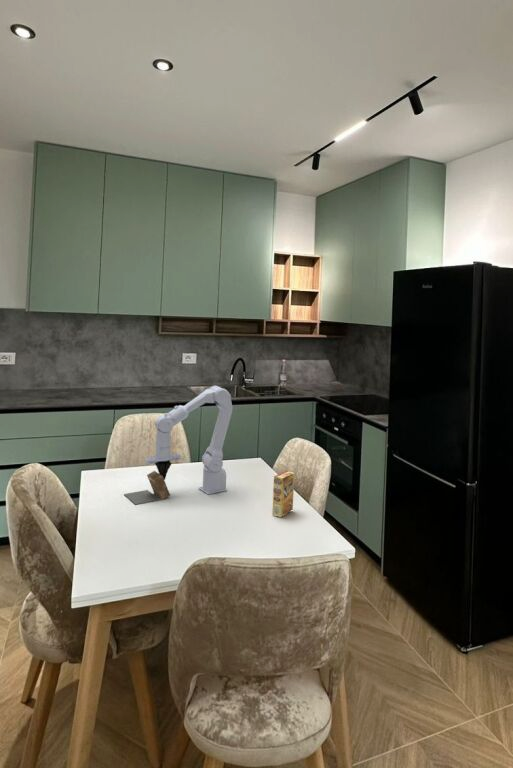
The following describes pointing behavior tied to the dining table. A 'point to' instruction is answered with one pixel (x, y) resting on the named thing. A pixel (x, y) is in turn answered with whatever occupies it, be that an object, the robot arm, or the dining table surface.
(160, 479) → the walnut slab
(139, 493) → the rubber mat
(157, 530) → the dining table surface
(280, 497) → the candy box
